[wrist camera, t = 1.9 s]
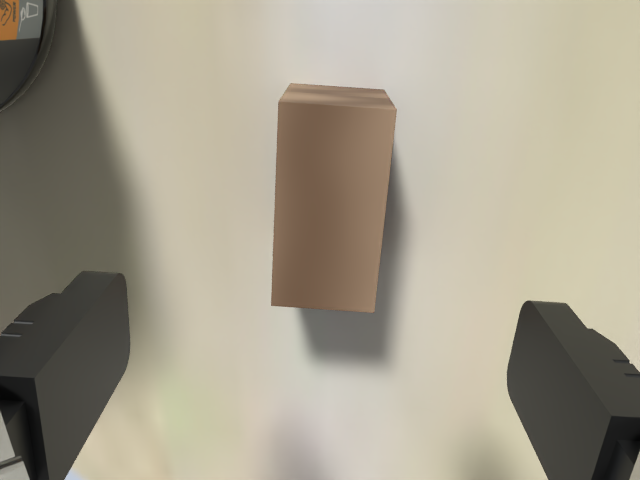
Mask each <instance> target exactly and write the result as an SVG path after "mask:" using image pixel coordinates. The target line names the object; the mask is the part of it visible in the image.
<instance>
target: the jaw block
mask: <svg viewBox="0 0 640 480" xmlns="http://www.w3.org/2000/svg"><path fill="white" fill-rule="evenodd" d="M396 112H397V109H396V108H395V106H394V105H393V103H392V102H391V100H390V98H389V97H388V95H387V94H386V92H385V91H384V90H380V89H366V88H351V87H336V86H322V85H307V84H293V83H291V84H290V85H289V87H288V88H287V90H286V91H285V93H284V94H283V96H282V97H281V99H280V100H279V102H278V130H277V158H276V186H275V214H274V242H273V269H272V297H271V306H283V307H297V308H312V309H326V310H341V311H355V312H370V313H374V310H375V301H376V292H377V283H378V274H379V265H380V256H381V247H382V238H383V229H384V220H385V211H386V202H387V193H388V184H389V175H390V166H391V157H392V148H393V139H394V130H395V121H396Z"/></svg>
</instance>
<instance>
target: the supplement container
mask: <svg viewBox="0 0 640 480" xmlns="http://www.w3.org/2000/svg"><path fill="white" fill-rule="evenodd" d="M56 6H57V1H56V0H0V112H1V111H3V110H4V109H6V108H7V107H9V106H10V105H11V104H13V103H14V102H15V101H16V100H17V99H18V98H19V97H21V96H22V95H23V93H24V92H25V91H26V90H27V89H28V88H29V87H30V86H31V84H32V83H33V81H34V80H35V78H36V77H37V75H38V74H39V72H40V70H41V68H42V66H43V64H44V63H45V61H46V58H47V55H48V53H49V50H50V47H51V43H52V39H53V35H54V30H55V22H56Z"/></svg>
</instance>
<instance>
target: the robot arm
mask: <svg viewBox="0 0 640 480" xmlns="http://www.w3.org/2000/svg"><path fill="white" fill-rule="evenodd" d="M129 353H130V332H129V317H128V302H127V288H126V281H125V278H124V276H123V274H121V273H108V272H93V271H82V272H81V273H80V274H79V275H78V276H77V277H76V278H75V279H74V280H73V281H72V282H71V283H70V284H69V285H68V286H67V287H66V288H65V290H64V291H63V292H62V293H61V294H57V293H52V294H50V295H48V296H46V297H44V298H42V299H41V300H39V301H37V302H35V303H33V304H31V305H29V306H28V307H27V308H26V309H25V310H24V311H23V312H22V313H21V314H20V315H19V316H18V317H17V318H16V319H15V320H14V323H11V324H10V325H9V326H8V327H7V328H6V329H5V330H4V331H3V332H2V334H1V336H0V480H64V479H65V477H66V475H67V474H68V472H69V470H70V469H71V467H72V465H73V463H74V461H75V460H76V458H77V456H78V454H79V453H80V451H81V449H82V447H83V445H84V444H85V442H86V440H87V438H88V437H89V435H90V433H91V431H92V429H93V428H94V426H95V424H96V422H97V421H98V419H99V417H100V415H101V413H102V412H103V410H104V408H105V406H106V404H107V403H108V401H109V399H110V397H111V396H112V394H113V392H114V390H115V388H116V387H117V385H118V383H119V381H120V380H121V378H122V376H123V374H124V372H125V370H126V367H127V364H128V359H129ZM507 387H508V392H509V396H510V399H511V401H512V403H513V405H514V407H515V410H516V412H517V414H518V416H519V418H520V420H521V422H522V424H523V427H524V429H525V431H526V433H527V435H528V437H529V439H530V441H531V444H532V446H533V448H534V450H535V452H536V454H537V456H538V458H539V461H540V463H541V465H542V467H543V469H544V471H545V473H546V475H547V478H548V480H640V372H639V371H638V370H637V369H636V368H635V366H634V365H633V364H630V363H629V359H628V358H627V357H626V356H625V355H624V354H623V352H622V351H621V350H620V349H619V348H618V347H617V345H616V344H615V343H613V342H612V341H610V340H609V339H607V338H605V337H604V336H602V335H601V334H599V333H598V332H596V331H595V330H593V329H587V328H586V326H585V325H584V324H583V323H582V321H581V320H580V319H579V318H578V317H577V315H576V314H575V313H574V312H573V310H572V309H571V308H570V307H569V306H568V305H567V304H566V303H558V302H542V301H526V302H525V303H524V304H523V306H522V308H521V311H520V314H519V319H518V323H517V328H516V332H515V337H514V341H513V346H512V350H511V355H510V359H509V363H508V369H507Z"/></svg>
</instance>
